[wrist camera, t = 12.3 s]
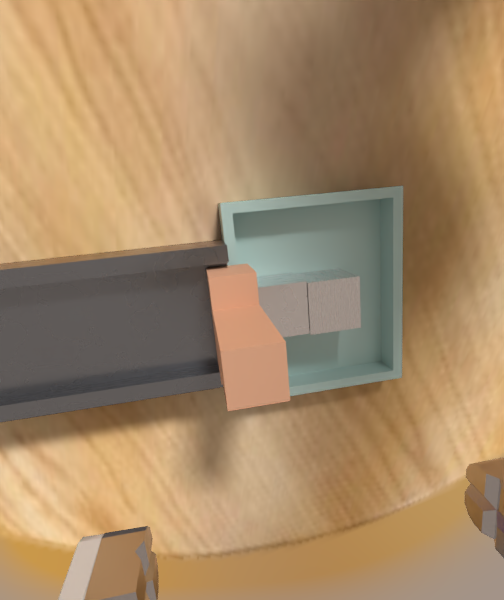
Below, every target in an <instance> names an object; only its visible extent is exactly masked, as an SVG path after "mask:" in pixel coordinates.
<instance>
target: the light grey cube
mask: <svg viewBox="0 0 504 600" xmlns="http://www.w3.org/2000/svg"><path fill="white" fill-rule="evenodd" d="M257 284H258V295H259V305H260V306H261V308H262V309H263V310H264V312H265V313H266V315H267V316H268V317H269V319H270V320H271V322H272V323H273V325H274V326H275V327H276V329H277V330H278V332H279V333H280V334H281V336H282V337H290V336H296V335H303V334H309V333H310V332H309V315H308V298H307V282H306V281H305V280H303V279H302V278H300V277H298V276H296V275H295V274H293V273H284V274H276V275H268V276H260V277H257Z"/></svg>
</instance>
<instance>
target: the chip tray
mask: <svg viewBox="0 0 504 600" xmlns="http://www.w3.org/2000/svg"><path fill="white" fill-rule="evenodd" d="M218 209H219V218H220V227H221V236H222V240H223V241H224V242H225V243H226V244H227V250H228V259H229V262H228V263H227V264H228V266H229V265H238V264H246V263H247V264H248V265H249V266H251V267H252V268H253V269H254V270H255V271H256V274H257V277H260V276H268V275H276V274H284V273H293V274H296V273H304V272H312V271H321V270H329V269H337V268H340V269H342V270H345V271H348V272H350V273H353V274H355V275H358V276H360V309H361V328H355V329H348V330H341V331H334V332H328V333H321V334H314V335H310V334H303V335H296V336H290V337H283V339H284V340H285V341H286V351H287V364H288V377H289V390H290V396H294V395H300V394H306V393H313V392H319V391H325V390H331V389H337V388H343V387H349V386H355V385H361V384H367V383H373V382H379V381H385V380H391V379H397V378H402V303H403V186H394V187H384V188H373V189H363V190H352V191H342V192H331V193H321V194H310V195H300V196H290V197H279V198H269V199H258V200H248V201H237V202H227V203H219V204H218Z"/></svg>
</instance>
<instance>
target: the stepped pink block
mask: <svg viewBox="0 0 504 600" xmlns="http://www.w3.org/2000/svg"><path fill="white" fill-rule="evenodd" d="M206 272H207V280H208V288H209V296H210V304H211V312H212V320H213V327H214V335H215V343H216V351H217V359H218V366H219V372H220V378H221V384H222V385H223V387H224V392H225V398H226V404H227V409H228V411H233V410H239V409H245V408H251V407H257V406H263V405H269V404H275V403H281V402H287V401H290V390H289V377H288V364H287V351H286V341H285V340H284V339H283V337H282V336H281V334H280V333H279V332H278V330H277V329H276V327H275V326H274V325H273V323H272V322H271V320H270V319H269V317H268V316H267V315H266V313H265V312H264V310H263V309H262V308H261V306H260V305H259V295H258V284H257V274H256V271H255V270H254V269H253V268H252V267H251V266H249V265H248V264H247V263H246V264H238V265H229V266H221V267H212V268H206Z"/></svg>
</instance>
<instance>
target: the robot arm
mask: <svg viewBox="0 0 504 600" xmlns="http://www.w3.org/2000/svg"><path fill="white" fill-rule="evenodd" d="M466 478H467V479H468V481H469V482H470V483H471V484H470V485H469V487H468V488H467V490H466V491H465V505H466V508H467V511H468V514H469V516H470V518H471V520H472V521H473V523H474V524H475V526H476V527H477V528H478V529H479V530H480V531H481V533H484V534H485V535H487V536H489V537H491V538H493V539H494V542H495V548H496V550H497V551H498V552H499V553H500V554H501V556H502V557H503V558H504V458H497V459H492V460H488V461H483V462H478V463H473V464H469V466H468V467H467V469H466ZM151 547H152V534H151V530H150V527H148V526H145V527H139V528H133V529H127V530H121V531H115V532H109V533H105V534H101V535H94V536H88V537H83V538H82V539H81V540H80V542H79V543H78V544H77V547H76V550H75V553H74V556H73V559H72V561H71V564H70V567H69V570H68V573H67V575H66V578H65V581H64V584H63V587H62V589H61V592H60V595H59V598H58V600H157V598H158V565H157V558H156V554H155V553H154V552H152V551H151Z"/></svg>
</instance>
